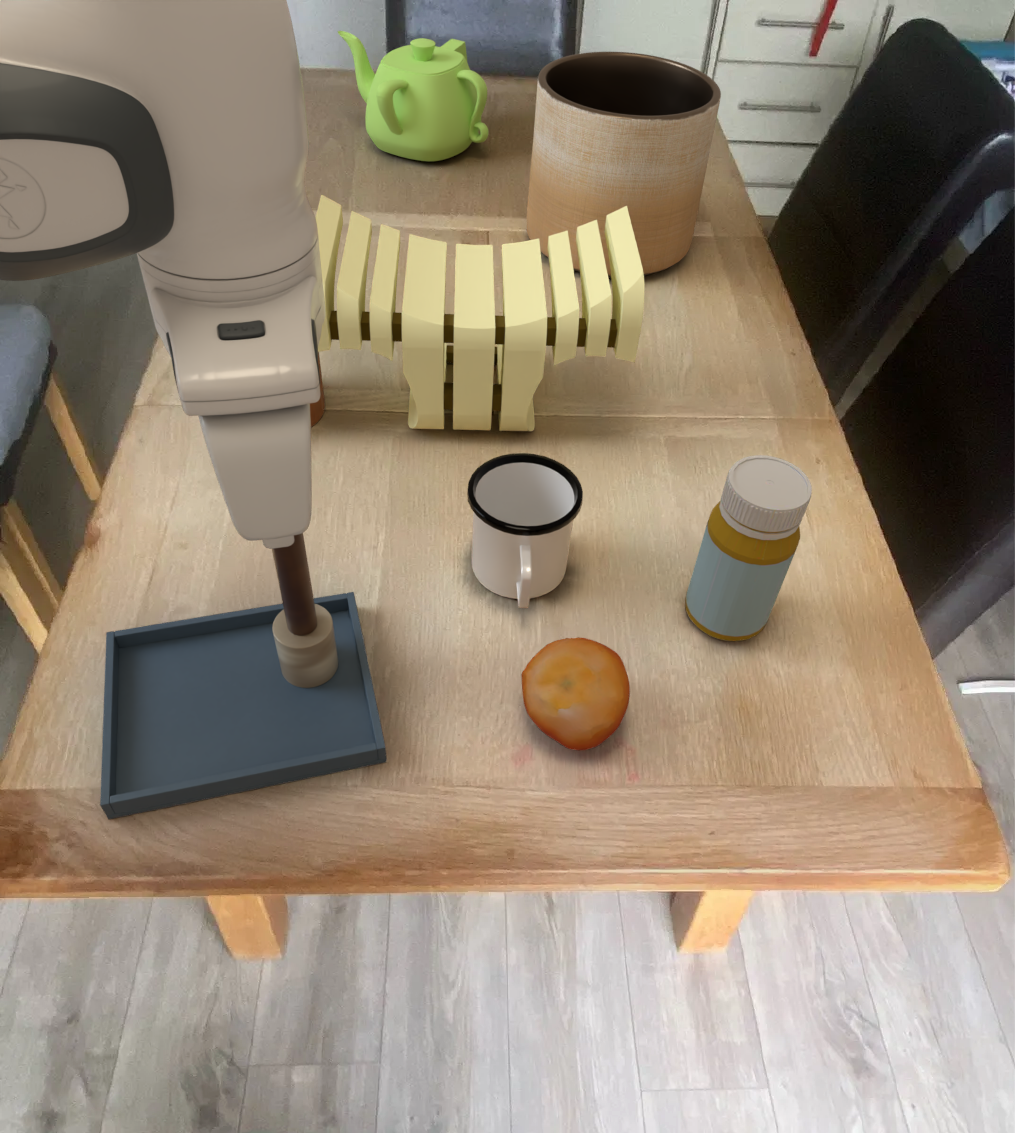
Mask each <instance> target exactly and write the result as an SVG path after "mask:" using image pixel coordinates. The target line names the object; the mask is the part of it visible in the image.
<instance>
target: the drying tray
mask: <svg viewBox="0 0 1015 1133" xmlns="http://www.w3.org/2000/svg"><path fill="white" fill-rule="evenodd" d="M313 598H314V604H317V605H320V606H322V607H323V608H325V609H326V610H327V611H328V612H329V613H330V615H331V617H332V621H333V628H334V635H335V642H336V649H337V656H338V668H337V670H336V672H335V674H334V675H333V677H332V678H331V679H330V680H328V681H327V682H326V683H324V684H322V685H319V686H316V687H311V688H302V687H297V686H295V685H292V684H291V683H289V682H288V681H287V680H286V679H285V678H284V676H283V674H282V671H281V667H280V662H279V658H278V653H277V649H276V644H275V640H274V635H273V630H272V627H273V622H274V620H275V618H276V616H277V615H278V614H279V613H280V612H281V611H282V610H284V607H283V602H282V603H276V604H271V605H263V606H258V607H252V608H246V609H242V610H241V609H240V610H233V611H228V612H222V613H215V614H210V615H203V616H197V617H191V618H186V619H185V618H184V619H178V620H173V621H167V622H161V623H155V624H149V625H143V626H136V627H131V628H125V629H118V630H115V631H114V630H112V631H107V632H106V633H105V658H104V659H105V662H104V684H103V686H104V687H103V688H104V689H103V690H104V691H103V713H102V714H103V717H102V722H103V723H102V739H101V740H102V741H101V742H102V743H101V744H102V746H101V768H100V772H101V773H100V796H99V806H100V807H101V809H102V811H103V813H104V815H105V817H106V818H107V820H112V819H117V818H122V817H126V816H132V815H137V814H141V813H145V812H151V811H155V810H160V809H161V810H162V809H166V808H171V807H174V806H180V805H184V804H190V803H194V802H199V801H204V800H208V799H214V798H219V797H224V796H228V795H234V794H238V793H242V792H248V791H253V790H258V789H263V788H269V787H271V786H272V787H273V786H277V785H281V784H287V783H290V782H291V783H292V782H297V781H301V780H306V779H311V778H315V777H316V778H317V777H320V776H326V775H331V774H335V773H336V774H337V773H340V772H344V771H350V770H354V769H359V768H365V767H369V766H373V765H374V766H375V765H379V764H383V763H384V764H385V763H387V762H388V760H387V759H388V758H387V746H386V742H385V737H384V734H383V733H384V732H383V729H382V723H381V719H380V714H379V709H378V705H377V699H376V695H375V689H374V684H373V680H372V674H371V670H370V665H369V660H368V655H367V651H366V644H365V640H364V636H363V631H362V625H361V621H360V616H359V612H358V607H357V602H356V596H355V592H354V591H349V592H344V593H338V594H332V595H325V596H319V597H313Z"/></svg>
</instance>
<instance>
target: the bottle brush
mask: <svg viewBox="0 0 1015 1133" xmlns="http://www.w3.org/2000/svg"><path fill="white" fill-rule="evenodd" d="M271 552H272V557H273V563H274V567H275V571H276V578H277V582H278V587H279V592H280V597H281V602H282V603H283V607H284V610H282V611H281V612H280V613H279V614H278V615H277V616H276V618H275V620H274V622H273V627H272V630H273V635H274V640H275V644H276V649H277V653H278V658H279V662H280V667H281V671H282V674H283V676H284V678H285V679H286V680H287V681H288V682H289V683H291V684H292V685H295V686H297V687H302V688H311V687H316V686H319V685H322V684H324V683H326V682H327V681H328V680H330V679H331V678H332V677H333V675H334V674H335V672H336V670H337V668H338V656H337V649H336V642H335V635H334V628H333V621H332V617H331V615H330V613H329V612H328V611H327V610H326V609H325V608H323V607H322V606H320V605H317V604H314V598H315V597H314V591H313V586H312V580H311V575H310V574H311V573H310V568H309V561H308V555H307V549H306V543H305V538H304V533H301V534H298V535H294V543H293V544H292V545H290V546H288V547H281V548H274V549H271Z"/></svg>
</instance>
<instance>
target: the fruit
mask: <svg viewBox="0 0 1015 1133" xmlns="http://www.w3.org/2000/svg"><path fill="white" fill-rule="evenodd" d="M521 690H522V699H523V705H524V708H525V712H526V714H527V715H528V717H529V719H530V720H531V721H532V722H533V724H534V725H535V726H536V727H537V728H538V729H539V730H540V731H541V732H542V733H543V734H545V735H546V736H547V737H549V738H550V739H552V740H554V741H555V742H557V743H559V744H560V745H562V746H563V747H565V748H566V749H568V750H575V751H586V750H590V749H594V748H597V747H599V746H601V744H603V743H605V741H607V740H608V739H609V738H610V737H611V736H612V735H614V733H615V732H616V731H617V730H618V729H619V728H620V726H621V725H622V722H623V721H624V717H625V715H626V713H627V711H628V708H629V702H630V696H631V695H630V694H631V685H630V679H629V676H628V673H627V669H626V666H625V664H624V662H623V659H622V658H621V656H620V654H618V652H617V651H615V650H614V649H612V648H610V647H608V646H607V645H605V644H603V643H600V642H599V641H596V640H593V639H590V638H587V637H580V636H579V637H570V638H569V637H565V638H560V639H556V640H553V641H552V642H549V643H547V644H546V645H545V646H544V647H542V648H541V649H540V650H539V651H538V652H537V653H535V655H534V656H533V657H532V658H531V659H530V660H529V662H527V664H526V666H525V668H524V669H523V670H522V672H521Z"/></svg>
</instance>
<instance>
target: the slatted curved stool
mask: <svg viewBox="0 0 1015 1133" xmlns="http://www.w3.org/2000/svg"><path fill="white" fill-rule="evenodd" d="M343 216H344V214H343V205H341V204H340V203H338V202H336V201H334V200H333V199H330V198H329V197H327V196H325V195H323V194H320V198H319V202H318V206H317V209H316V213H315V218H316V223H317V228H318V238H319V250H320V260H321V271H322V279H323V290H324V300H325V311H326V313H325V319H324V323H323V325H322V331H321V337H320V341H319V345H318V352H319V353H321V352H326V351H330V350H331V347H332V341H339V350H356V351H361V350H362V345H363V341H365V342H370V349H371V350H370V352H371V353H373V354H376V355H380V356H381V357H384V358H386V359H388V360H389V361H391V362H393V361H394V350H395V342H399V343H400V342H401V354H402V355H401V357H402V374H403V376H404V378H405V380H406V382H407V384H408V386H409V388H410V389H409V401H408V414H407V425H408V427H409V428H410V429H416V430H417V429H419V430H420V429H421V430H445V411H452V430H460V431H462V430H463V431H491V428H492V414H493V413H492V412H497V414H498V416H497V417H498V431H500V432H502V431H503V432H504V431H506V432H533V431H534V430H535V427H536V421H535V420H536V419H535V409H534V395H535V393H536V391H537V389H538V386H539V385H540V384H541V382H542V380H543V378H544V371H545V363H546V362H545V361H546V350H547V347H551V348H552V359H553V367H555V366H557V365H558V364H561V363H563V362H565V361H568V360H572V359H575V358H576V354H577V348H584V349H583V350H584V356H585V357H603V358H605V357H607V350H608V349H613V352H614V357H615V359H618V360H623V361H626V362H630V363H634V364H635V363H636V358H637V353H638V347H639V342H640V337H641V331H642V325H643V319H644V308H645V276H644V273H643V268H642V264H641V260H640V256H639V252H638V248H637V244H636V240H635V236H634V232H633V228H632V224H631V220H630V216H629V212H628V208H627V206H625V207H623V208H621V209H619V210H617V211H615V212H612V213H610V214H608V215H607V216H606V224H605V231H604V233H605V238H606V243H607V249H608V255H609V262H610V269H611V277H610V279H611V284H610V279H609V277H608V274H607V269H606V264H605V259H604V254H603V248H602V243H601V238H600V233H599V228H598V223H597V220H594V221H592V222H589V223H587V224H584V225H581V226H579V227H577V234H576V244H577V251H578V259H579V267H580V272H579V275H580V276H579V278H580V288H581V317H580V305H579V304H580V303H579V298H578V297H579V296H578V292H577V291H578V290H577V284H576V278H575V277H576V276H575V271H574V270H573V263H572V257H571V250H570V243H569V236H568V230H567V231H564V232H561V233H557V234H554V235H551V236H549V237H548V256H549V258H548V263H549V264H548V265H549V276H550V277H549V278H550V292H551V294H550V295H551V316H548V311H547V310H548V309H547V302H546V292H545V283H544V282H545V281H544V273H543V263H542V262H543V261H542V252H541V251H540V242H539V239H534V240H530V239H529V240H524V241H518V242H517V241H516V242H509V243H503V244H501V279H502V281H501V282H502V283H501V284H502V315H496V308H495V306H496V305H495V277H494V274H495V272H494V245H493V244H468V243H467V244H466V243H455V263H454V264H455V266H454V267H455V269H454V302H453V303H454V304H453V306H454V307H453V308H454V309H453V313H446V287H447V286H446V283H447V259H448V258H447V257H448V242H447V241H442V240H437V239H432V238H426V237H423V236H419V235H415V234H412V233H409V234H408V245H407V255H406V265H405V275H404V286H403V296H402V305H401V306H402V307H401V312H397V311H396V310H397V309H396V305H397V288H398V287H397V286H398V273H399V261H400V250H401V230H399V229H396V228H394V227H391V226H389V225H386V224H383V223H380V228H379V234H378V241H377V248H376V253H375V254H376V255H375V262H374V268H373V275H372V282H371V283H372V284H371V289H370V297H369V311H366V293H367V292H366V291H367V290H366V289H367V277H368V266H369V257H370V250H371V243H372V237H373V236H372V235H373V226H372V225H373V224H372V219H371V218H369V217H366V216H365V215H362V214H360V213H358V212H356V211H353V210H351V212H350V217H349V221H348V227H347V232H346V236H345V237H346V238H345V243H344V247H343V253H342V257H341V263H340V268H339V272H338V278H337V283H335V282H336V272H337V271H336V269H337V262H338V254H339V248H340V240H341V236H342V231H343V226H344V217H343ZM335 284H336V310H335ZM451 344H452V345H451ZM447 364H453V367H452V368H453V370H452V371H453V373H452V375H453V376H452V378H453V382H447ZM495 366H496V378H497V381H496V383H494V373H495V372H494V369H495Z"/></svg>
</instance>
